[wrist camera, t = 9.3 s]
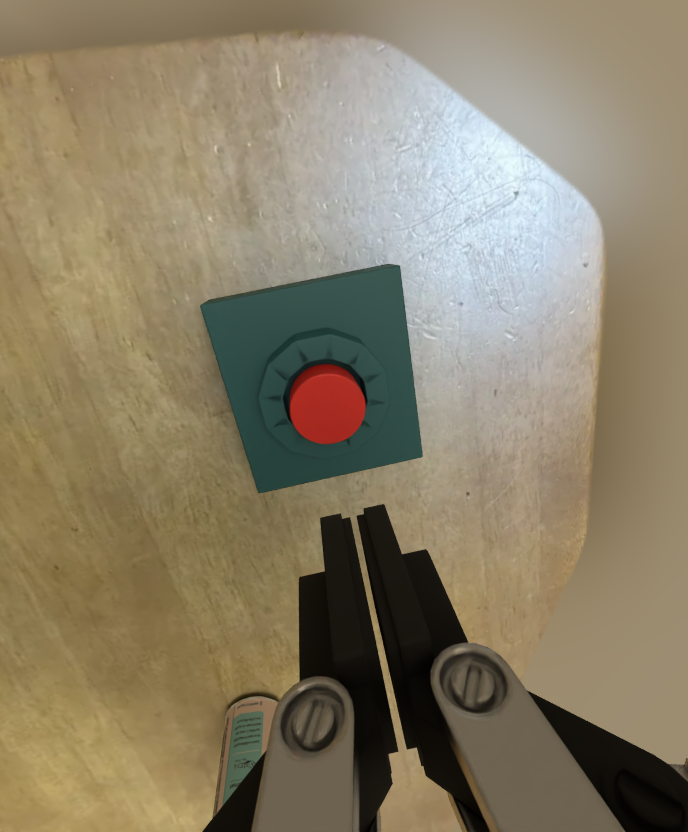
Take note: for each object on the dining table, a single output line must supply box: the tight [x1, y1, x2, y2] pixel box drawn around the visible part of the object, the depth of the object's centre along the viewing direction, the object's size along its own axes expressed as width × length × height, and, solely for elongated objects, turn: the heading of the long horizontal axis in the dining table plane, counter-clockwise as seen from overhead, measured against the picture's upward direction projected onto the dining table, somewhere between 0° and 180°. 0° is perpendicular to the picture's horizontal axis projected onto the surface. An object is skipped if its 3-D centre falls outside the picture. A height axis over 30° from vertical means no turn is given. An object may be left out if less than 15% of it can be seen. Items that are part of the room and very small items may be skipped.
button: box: [290, 364, 366, 444], centre depth 20 cm, size 4×4×2 cm
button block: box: [200, 264, 423, 493], centre depth 23 cm, size 11×10×4 cm
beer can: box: [213, 696, 278, 817], centre depth 29 cm, size 5×5×12 cm
